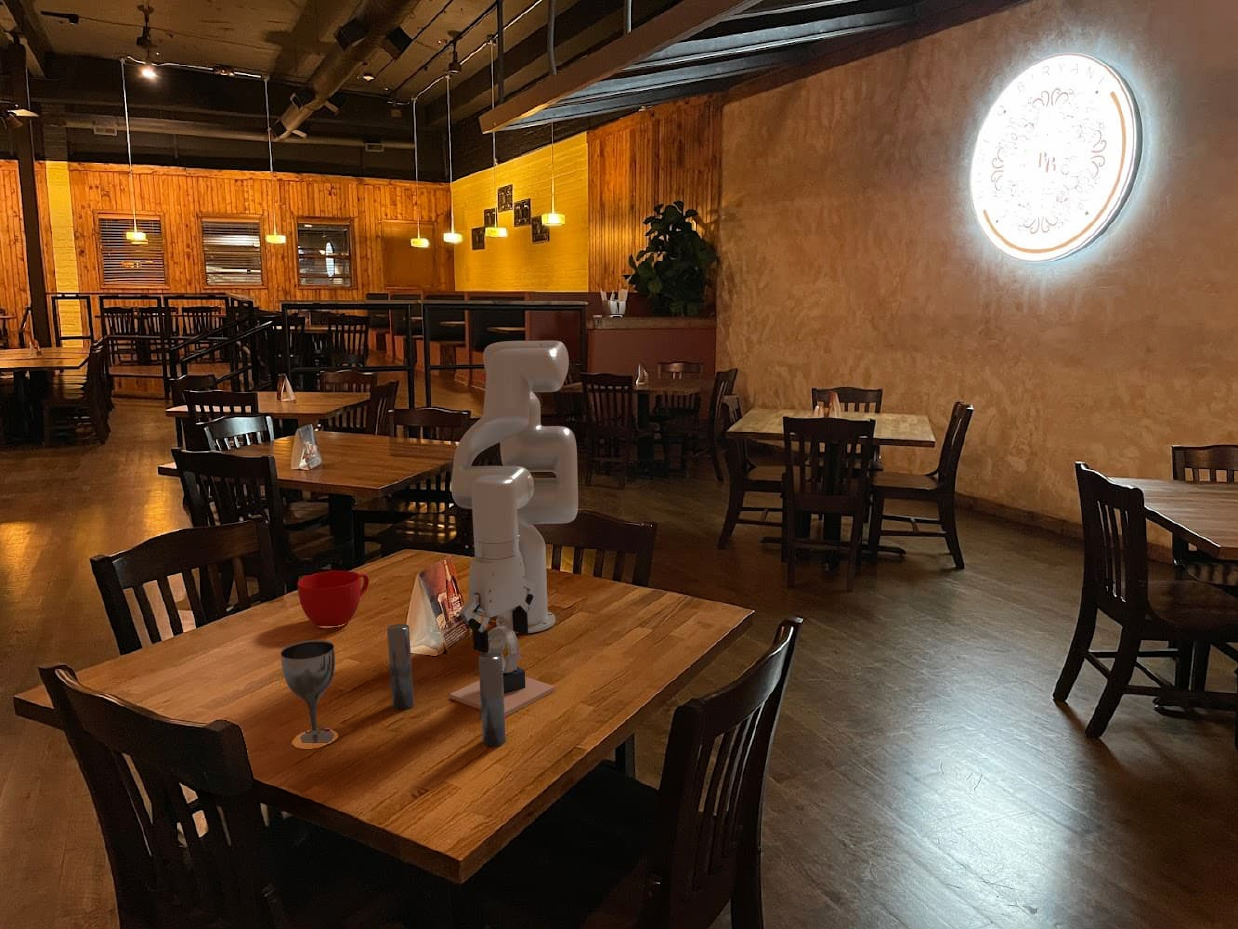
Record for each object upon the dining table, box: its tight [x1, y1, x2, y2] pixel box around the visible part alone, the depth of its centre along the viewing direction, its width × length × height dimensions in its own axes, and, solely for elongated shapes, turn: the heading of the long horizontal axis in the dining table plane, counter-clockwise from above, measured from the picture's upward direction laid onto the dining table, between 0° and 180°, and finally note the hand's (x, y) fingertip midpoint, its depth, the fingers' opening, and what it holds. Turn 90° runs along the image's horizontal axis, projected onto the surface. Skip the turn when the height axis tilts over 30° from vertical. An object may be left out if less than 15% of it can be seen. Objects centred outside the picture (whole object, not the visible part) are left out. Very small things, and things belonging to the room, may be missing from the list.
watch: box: [487, 626, 526, 694], centre depth 156 cm, size 6×8×11 cm
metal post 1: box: [386, 623, 415, 711], centre depth 151 cm, size 4×4×14 cm
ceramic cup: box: [297, 570, 370, 627], centre depth 194 cm, size 13×17×10 cm
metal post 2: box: [478, 652, 507, 748], centre depth 138 cm, size 4×4×14 cm
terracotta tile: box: [449, 676, 556, 718], centre depth 156 cm, size 13×13×1 cm
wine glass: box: [280, 639, 336, 744], centre depth 140 cm, size 8×8×15 cm
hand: (501, 641), depth 155 cm, fingers open, 9 cm apart
